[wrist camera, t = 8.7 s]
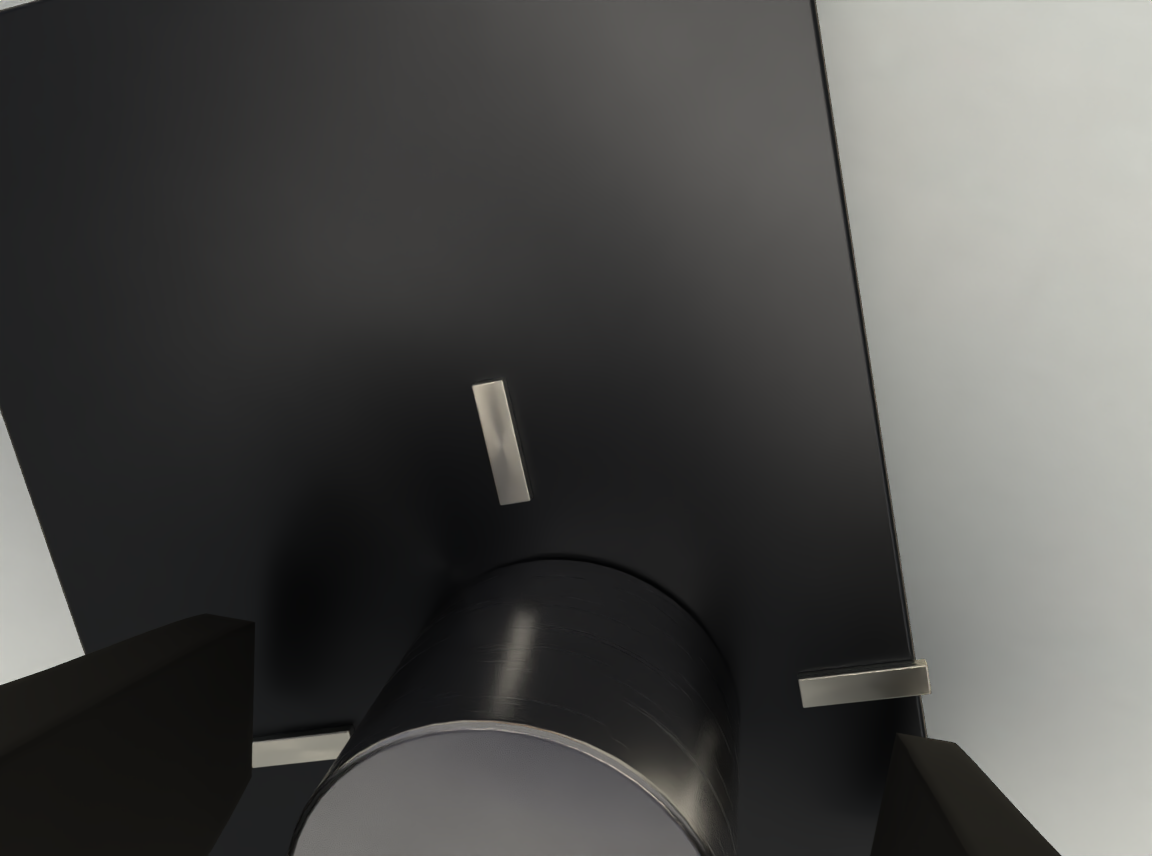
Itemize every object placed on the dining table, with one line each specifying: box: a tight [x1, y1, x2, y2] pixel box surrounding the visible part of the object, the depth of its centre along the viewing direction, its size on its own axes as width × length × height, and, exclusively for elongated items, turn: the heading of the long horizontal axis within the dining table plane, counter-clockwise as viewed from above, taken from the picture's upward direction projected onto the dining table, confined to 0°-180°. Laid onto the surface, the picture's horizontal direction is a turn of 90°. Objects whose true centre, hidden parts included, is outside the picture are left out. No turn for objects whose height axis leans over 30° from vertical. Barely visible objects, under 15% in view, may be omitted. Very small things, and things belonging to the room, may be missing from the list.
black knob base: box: [0, 0, 931, 856], centre depth 14 cm, size 14×10×3 cm
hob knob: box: [287, 560, 740, 856], centre depth 11 cm, size 4×4×4 cm
